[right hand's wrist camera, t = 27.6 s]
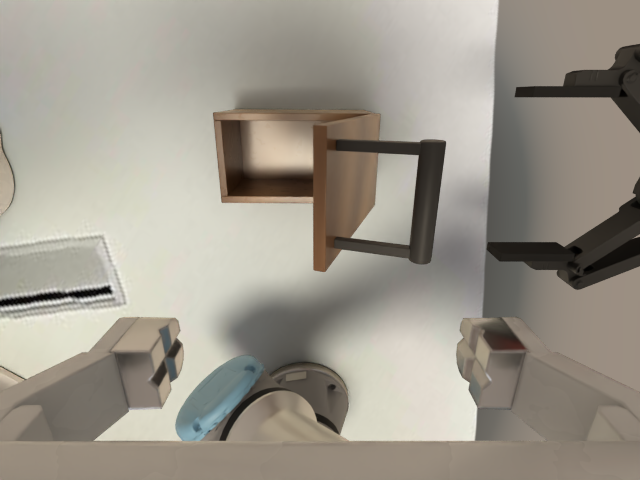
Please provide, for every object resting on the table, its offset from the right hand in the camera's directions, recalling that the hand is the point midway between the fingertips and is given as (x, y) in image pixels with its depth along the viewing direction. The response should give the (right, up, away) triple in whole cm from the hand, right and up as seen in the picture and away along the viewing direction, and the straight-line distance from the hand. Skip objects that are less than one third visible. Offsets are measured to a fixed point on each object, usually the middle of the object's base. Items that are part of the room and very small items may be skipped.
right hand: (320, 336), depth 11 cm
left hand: (+16, +8, +20) cm, 27 cm away
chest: (-3, +15, +38) cm, 41 cm away
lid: (+2, +8, +21) cm, 22 cm away
